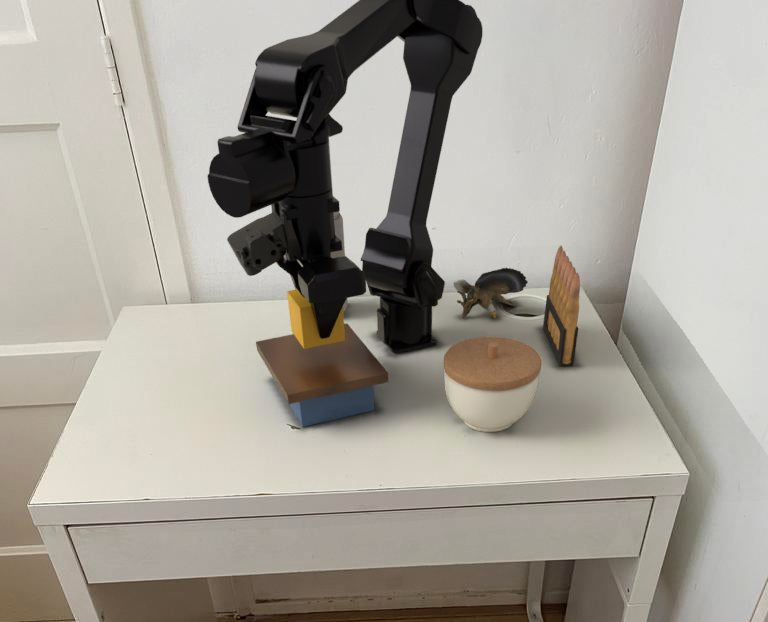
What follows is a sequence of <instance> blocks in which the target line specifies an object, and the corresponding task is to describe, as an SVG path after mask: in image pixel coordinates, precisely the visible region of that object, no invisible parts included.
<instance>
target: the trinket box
mask: <svg viewBox="0 0 768 622" xmlns="http://www.w3.org/2000/svg"><path fill="white" fill-rule="evenodd" d="M442 363H443V370H444V371H443V373H444V374H443V375H444V377H443V378H444V380H443V381H444V388H445V394H446V398H447V401H448V403H449V406H450V408H451V409H452V411H453V412H454V414H455V415H456V416H457V417H458V418H460V419H461V420H462V422H463V423H464V425H465V426H467V427H469V428H470V429H472V430H475V431H479V432H483V433H496V432H501V431H502V432H503V431H505V430H507V429H509V428H510V427H512V426H513V425H514V423H516V422H517V421H518V420H520V419H521V418H522V417H524V415H525V414H526V413H527V412H528V410H529V409H530V407H531V405H532V404H533V401H534V399H535V395H536V392H537V390H538V385H539V379H540V373H541V371H542V358H541V356H540V353H538V351H537V350H536V349H535V348H534V347H533V346H531V345H529V344H527V343H526V342H522V341H520V340H518V339H514V338H509V337H502V336H477V337H470V338H467V339H464V340H461V341H458V342H456V343H455V344H453V345H451V346H450V347H449V348H448V349H447V350H446V351H445V353H444V355H443V362H442Z"/></svg>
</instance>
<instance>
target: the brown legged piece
mask: <svg viewBox="0 0 768 622" xmlns="http://www.w3.org/2000/svg"><path fill="white" fill-rule="evenodd" d="M526 279H527V277H526V275H524V273H522V271H521V270H517V269H514V268H511V267H509V268H508V267H502V268H499V269H495V270H490V271H488V272H487V271H486V272H483V273H482V274H480V276H479V277H478V278H477V279H476V281H475V282H474V285H473V284H470V283H469V282H468V281H467V280H466V279H462V278H461V279H457V280H454V281H453V287H454V289H455V290H456V293H457V294H459V295H460V296H461V298H462V300H459V299H458V300H456V303H457V304H460V305H461V306H462V307H463V309H462V315H461V316H462V318H466V317H467V316H468V314H470V313H471V311H472V309H473V308H474V307H475V306H476V305H479V306H480V307H482V308H483V309H485V310H486V311H488V313H489V314H491V315H492V318H493V319H496V317H497V310H496V308H495V306H494V304H493V302H498V303H503V304H506V305H508V306H511V307H514V306H515V302H512V300H508V299H506V298H505V297H504V296H503V295H508V294H517V293H520V292H522V291H524V288H525V287H527V284H528V283H529V281H528V280H526ZM492 301H493V302H492Z"/></svg>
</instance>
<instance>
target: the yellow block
mask: <svg viewBox="0 0 768 622" xmlns="http://www.w3.org/2000/svg"><path fill="white" fill-rule="evenodd" d="M286 295H287V302H288V311H289V321H290V329H291V332H292V334H294V335H295V337H296V338H297V340H298V341H299V342H300V344H301V345H302V347H303V348H304V349H307V348H312V347H317V346H321V345H326V344H331V343H336V342H340V341H345V331H344V324H345V318H344V313H343V307H342V309H341V311H340V314H339V316H338V318H337V321H336V323H335V325H334V328H333V330H332V332H331V335H330V337H328V338H324V339H321V338H320V337H319V333H318V330H317V326H316V323H315V319H314V315H313V311H312V308H311V304H310V303H309V302H308V301H307V299H306V298H304V297H303V296H302V295H301V294H300V293H299V292H298V290H297V289H296V290H295V289H292V290H291V289H290V290H287V291H286Z"/></svg>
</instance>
